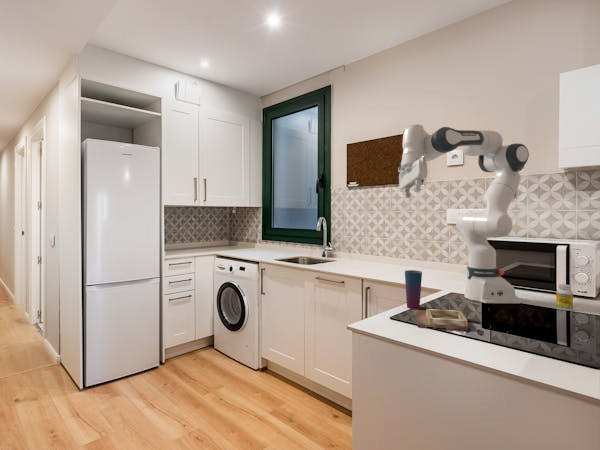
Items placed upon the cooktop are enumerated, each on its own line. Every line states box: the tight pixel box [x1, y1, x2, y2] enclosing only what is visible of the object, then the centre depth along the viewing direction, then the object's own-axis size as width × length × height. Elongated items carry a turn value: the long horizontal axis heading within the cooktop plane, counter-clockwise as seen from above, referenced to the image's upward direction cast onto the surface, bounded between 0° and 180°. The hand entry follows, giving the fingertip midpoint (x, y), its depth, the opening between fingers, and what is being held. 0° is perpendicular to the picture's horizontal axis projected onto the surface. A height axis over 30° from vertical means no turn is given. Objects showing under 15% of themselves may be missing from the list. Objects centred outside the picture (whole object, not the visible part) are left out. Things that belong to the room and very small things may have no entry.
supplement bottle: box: [555, 283, 574, 311], centre depth 141 cm, size 5×5×10 cm
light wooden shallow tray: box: [413, 308, 469, 332], centre depth 128 cm, size 16×18×3 cm
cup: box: [404, 269, 423, 310], centre depth 145 cm, size 7×7×15 cm
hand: (412, 194), depth 143 cm, fingers open, 8 cm apart
